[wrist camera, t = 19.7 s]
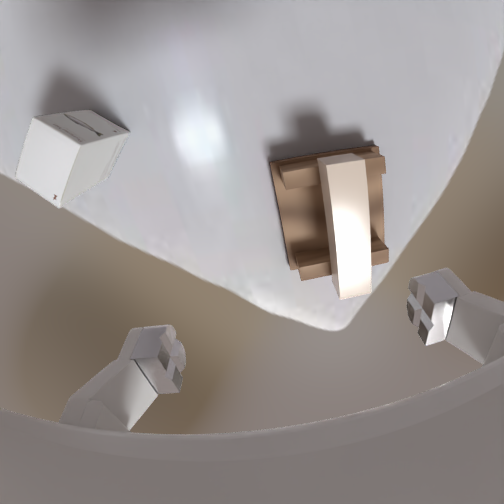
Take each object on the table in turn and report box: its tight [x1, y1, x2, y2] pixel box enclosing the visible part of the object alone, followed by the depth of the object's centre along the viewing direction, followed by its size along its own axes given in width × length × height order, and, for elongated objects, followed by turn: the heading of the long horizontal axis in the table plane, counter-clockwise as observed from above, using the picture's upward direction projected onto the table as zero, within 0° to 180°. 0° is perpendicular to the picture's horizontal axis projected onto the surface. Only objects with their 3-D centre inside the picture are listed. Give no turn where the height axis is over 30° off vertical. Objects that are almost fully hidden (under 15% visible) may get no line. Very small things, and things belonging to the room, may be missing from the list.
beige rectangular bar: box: [317, 153, 371, 300], centre depth 32 cm, size 16×4×4 cm, turn 12°
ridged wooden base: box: [270, 145, 389, 281], centre depth 36 cm, size 15×14×5 cm
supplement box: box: [15, 110, 130, 208], centre depth 28 cm, size 7×7×13 cm
